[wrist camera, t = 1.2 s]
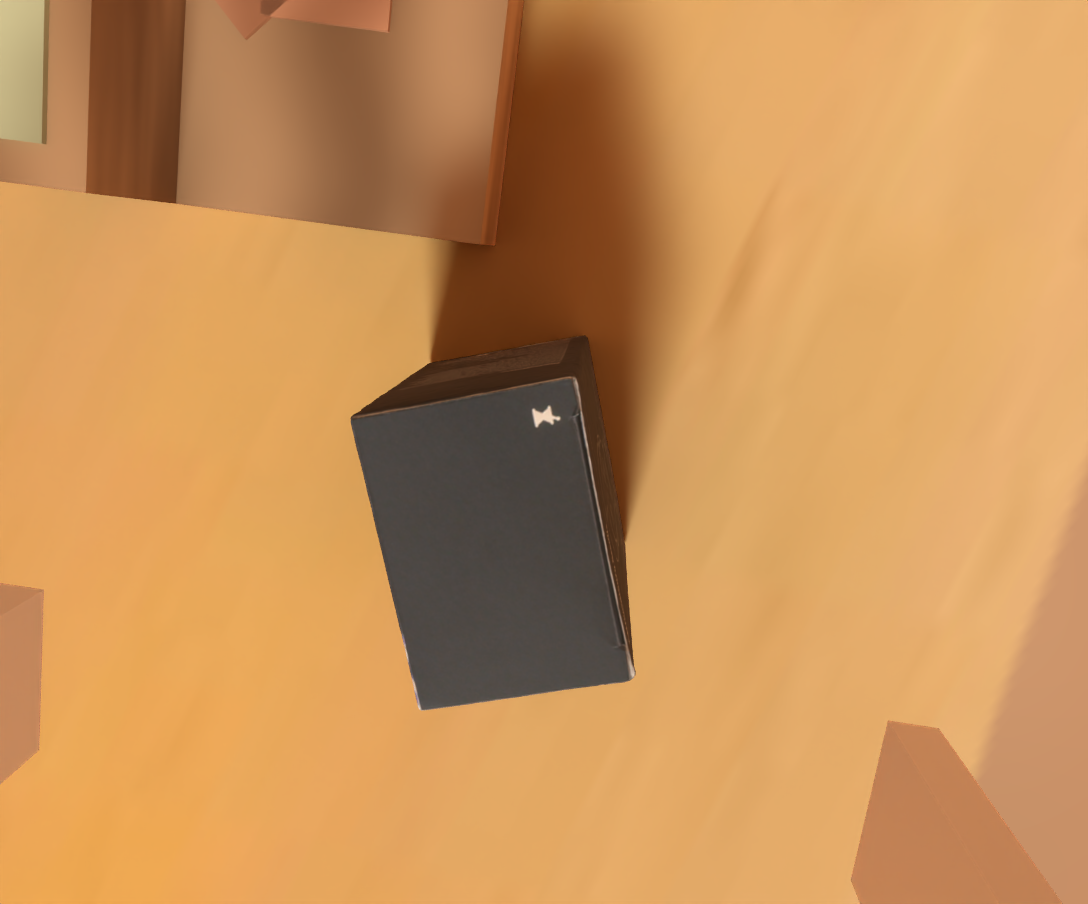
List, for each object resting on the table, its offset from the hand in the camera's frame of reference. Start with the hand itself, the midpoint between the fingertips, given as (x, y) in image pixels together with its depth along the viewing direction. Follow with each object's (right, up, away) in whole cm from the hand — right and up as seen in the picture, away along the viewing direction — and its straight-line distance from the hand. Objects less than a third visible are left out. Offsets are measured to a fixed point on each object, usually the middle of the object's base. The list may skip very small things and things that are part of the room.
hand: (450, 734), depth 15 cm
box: (+1, +4, +19) cm, 19 cm away
